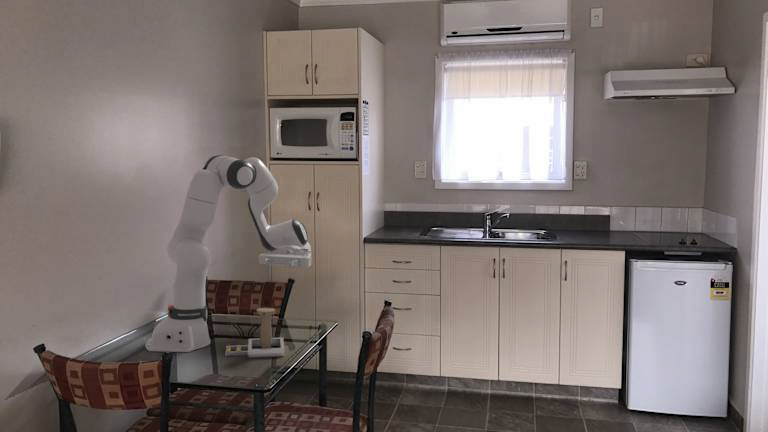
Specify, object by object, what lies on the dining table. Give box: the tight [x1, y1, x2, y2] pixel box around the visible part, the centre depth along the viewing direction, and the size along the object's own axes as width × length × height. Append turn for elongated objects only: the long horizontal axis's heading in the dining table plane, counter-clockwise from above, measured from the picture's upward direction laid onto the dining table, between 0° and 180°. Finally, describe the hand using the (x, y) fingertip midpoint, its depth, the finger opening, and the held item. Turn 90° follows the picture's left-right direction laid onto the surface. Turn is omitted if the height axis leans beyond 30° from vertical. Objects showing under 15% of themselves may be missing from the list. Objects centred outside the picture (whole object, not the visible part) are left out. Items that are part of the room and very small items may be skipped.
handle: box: [256, 307, 276, 349], centre depth 232 cm, size 5×6×15 cm
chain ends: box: [224, 337, 285, 359], centre depth 232 cm, size 20×12×3 cm, turn 101°
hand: (278, 263), depth 246 cm, fingers open, 8 cm apart
